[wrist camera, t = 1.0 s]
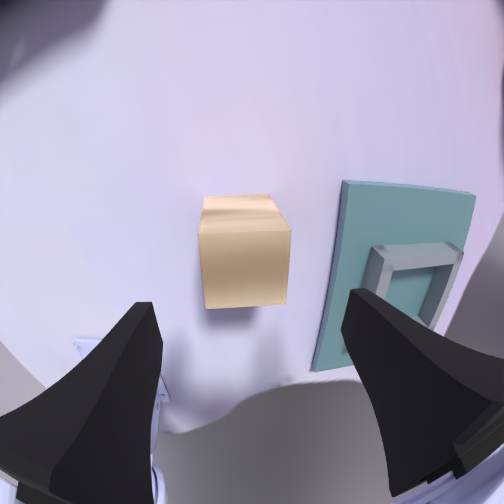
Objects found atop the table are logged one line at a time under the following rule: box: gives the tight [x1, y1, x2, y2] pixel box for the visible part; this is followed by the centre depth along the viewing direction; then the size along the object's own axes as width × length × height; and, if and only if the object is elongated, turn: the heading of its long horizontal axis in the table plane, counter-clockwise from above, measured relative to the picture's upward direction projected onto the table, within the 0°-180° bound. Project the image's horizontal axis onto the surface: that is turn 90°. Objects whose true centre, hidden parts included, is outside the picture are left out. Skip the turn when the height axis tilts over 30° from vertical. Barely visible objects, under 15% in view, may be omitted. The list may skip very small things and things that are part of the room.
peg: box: [198, 194, 291, 309], centre depth 15 cm, size 4×4×6 cm
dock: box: [312, 180, 476, 372], centre depth 20 cm, size 18×14×3 cm
